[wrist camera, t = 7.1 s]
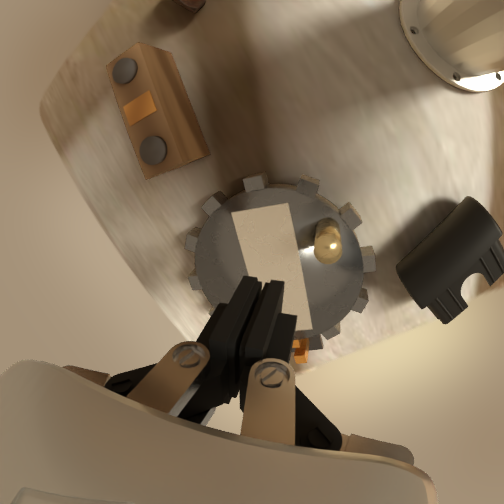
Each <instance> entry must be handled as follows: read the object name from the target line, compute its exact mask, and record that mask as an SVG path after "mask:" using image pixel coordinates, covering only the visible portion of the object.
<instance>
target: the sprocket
mask: <svg viewBox="0 0 504 504" xmlns="http://www.w3.org/2000/svg"><path fill="white" fill-rule="evenodd" d="M243 182H244V186H245V190H244V191H241V192H239V193H238V194H236V195H234V196H233V197H231V198H230V199H228V198H227V197H226V196H225V195H224V194H223V193H222V192H221V191H219V192H217V193H216V194H214V195H213V196H211V197H210V199H209V200H208V201H207V202H206V203H205V204H204V205H203V206H202V207H201V208H202V209H203V210H204V211H205V212H206V213H207V214H208V215H209V216H210V217H209V218H208V219H207V221H206V222H205V224H204V226H203V227H202V229H200V228H197V227H195V228H194V229H193V230H192V231H190V232H189V233H188V234H187V238H186V244H185V249H187V250H190V251H192V252H195V267H196V268H195V269H194V270H193V271H192V272H191V273H190V274H189V276H188V279H189V282H190V285H191V287H192V290H200V289H202V290H203V292H204V294H205V296H206V297H207V299H208V301H209V302H210V303H211V305H212V306H213V307H212V309H211V310H210V312H209V315H210V316H211V315H212V314H213V312H214V310H215V309H216V307H217V305H218V304H219V303H226V304H228V303H229V301H230V300H231V298H232V296H233V294H234V292H235V290H236V289H237V287H238V285H239V283H240V281H241V280H242V278H243V276H244V275H245V276H252V277H257V278H258V281H261V282H262V289H263V287H264V284H265V282H268V283H270V281H271V279H272V280H278V281H284V282H285V284H284V295H283V304H282V313H285V314H292V315H297V323H296V330H295V336H294V341H293V346H292V348H300V344H301V339H305V338H310V337H313V336H316V335H318V334H322V335H323V336H324V337H325V338H326V339H327V340H328V339H330V338H332V337H334V336H336V335H338V334H339V333H340V321H341V320H342V319H343V318H344V317H345V316H346V315H347V314H348V313H349V312H350V310H353V311H356V312H359V313H362V311H363V309H364V308H365V306H366V304H367V303H368V301H369V300H368V294H367V289H364V288H361V287H362V282H363V273H366V272H373V271H376V264H375V254H374V251H373V248H372V246H366V247H360V245H359V242H358V239H357V236H356V233H355V231H354V229H355V228H356V227H357V226H359V225H360V224H361V223H362V220H361V217H360V215H359V214H358V212H357V211H356V210H355V209H354V207H353V206H352V205H351V203H350V202H348V203H347V204H345V205H344V206H343V207H341V208H340V209H338V208H337V207H336V206H335V205H334V204H332V203H331V202H330V201H329V200H327V199H326V198H324V197H322V196H321V195H319V194H317V190H318V187H319V182H320V180H317V179H314V178H311V177H309V176H306V175H303V174H302V175H301V178H300V180H299V183H298V186H295V185H288V184H269V182H268V178H267V174H266V172H261V173H257V174H252V175H248V176H247V177H245V178H244V179H243Z"/></svg>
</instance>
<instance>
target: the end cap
mask: <svg viewBox="0 0 504 504" xmlns="http://www.w3.org/2000/svg"><path fill="white" fill-rule="evenodd" d="M501 236H502V231H501V229H500V228H499V226H498V224H497V223H496V221H495V220H494V219H493V217H492V216H491V215H490V214H489V212H488V211H487V210H486V209H485V208H484V207H483V206H482V205H481V204H480V203H479V202H478V201H477V200H475V199H474V198H472V197H469V196H467V197H466V198H465V199H464V200H463V201H462V202H461V203H460V204H459V205H458V206H457V207H456V208H455V209H454V210H453V211H452V212H451V213H450V214H449V216H448V217H447V218H446V219H445V220H444V221H443V222H442V223H441V224H440V225H439V226H438V227H437V228H436V229H435V230H434V231H433V232H432V233H431V234H429V235H428V236H427V237H426V238H425V239H424V240H423V241H422V242H421V243H420V244H419V245H418V246H417V247H416V248H415V249H414V250H413V251H412V252H410V253H409V254H408V255H407V256H406V257H405V258H404V259H403V260H402V261H401V262H399V263H398V264H397V265H396V271H397V274H398V276H399V278H400V280H401V281H402V283H403V285H404V286H405V288H406V289H407V291H408V292H409V294H410V295H411V297H412V298H413V299H414V301H415V302H416V303H417V305H418V306H419V307H420V308H421V309H424V308H425V307H426V306H427V307H428V308H429V309H430V310H431V312H432V313H433V314H434V315H435V316H436V318H437V319H440V321H441V322H442V323H443V324H447V323H449V322H450V321H452V320H453V319H454V318H455V317H456V316H457V315H459V314H460V313H461V312H462V311H464V310H465V309H466V308H467V307H468V305H467V304H466V302H465V301H464V299H463V298H462V296H461V287H462V284H463V282H464V281H465V279H466V278H467V277H469V276H470V275H472V274H474V273H481V274H483V275H484V277H485V279H486V280H487V282H488V284H489V285H490V286H491V285H492V284H493V283H494V282H495V281H496V280H497V279H498V278H499V277H500V276H501V275H502V274H503V273H504V249H503V247H502V245H501V243H500V241H499V238H500V237H501Z"/></svg>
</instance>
